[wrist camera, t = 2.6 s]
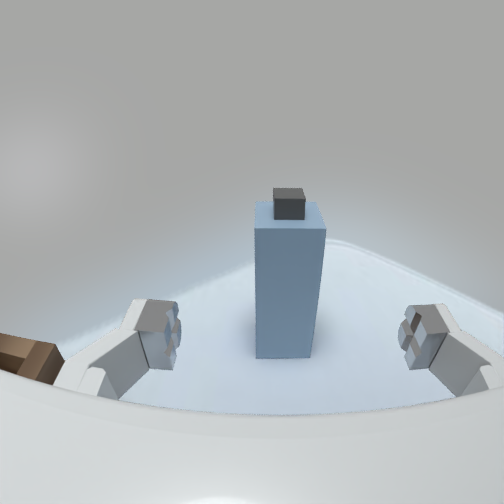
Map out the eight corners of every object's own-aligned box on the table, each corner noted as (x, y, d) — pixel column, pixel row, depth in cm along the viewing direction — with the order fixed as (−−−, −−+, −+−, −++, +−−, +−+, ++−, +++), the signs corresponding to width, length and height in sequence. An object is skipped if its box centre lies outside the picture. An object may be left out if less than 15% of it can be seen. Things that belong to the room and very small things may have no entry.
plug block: (304, 322, 30) (317, 183, 23) (309, 357, 26) (328, 206, 19) (257, 322, 30) (255, 182, 23) (256, 358, 26) (254, 205, 19)
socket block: (124, 415, 21) (80, 331, 16) (88, 555, 10) (-2, 517, 6) (13, 387, 21) (-36, 311, 17) (-34, 491, 11) (-111, 425, 6)
